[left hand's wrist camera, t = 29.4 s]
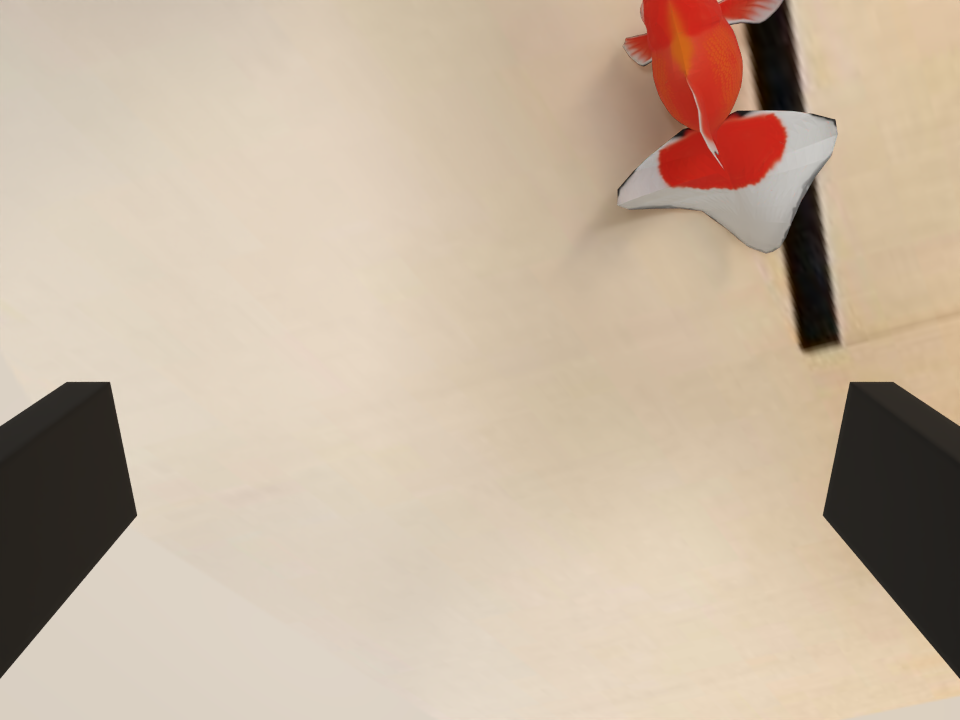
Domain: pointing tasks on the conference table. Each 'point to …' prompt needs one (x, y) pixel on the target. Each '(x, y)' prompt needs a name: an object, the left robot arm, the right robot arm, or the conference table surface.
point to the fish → (721, 126)
